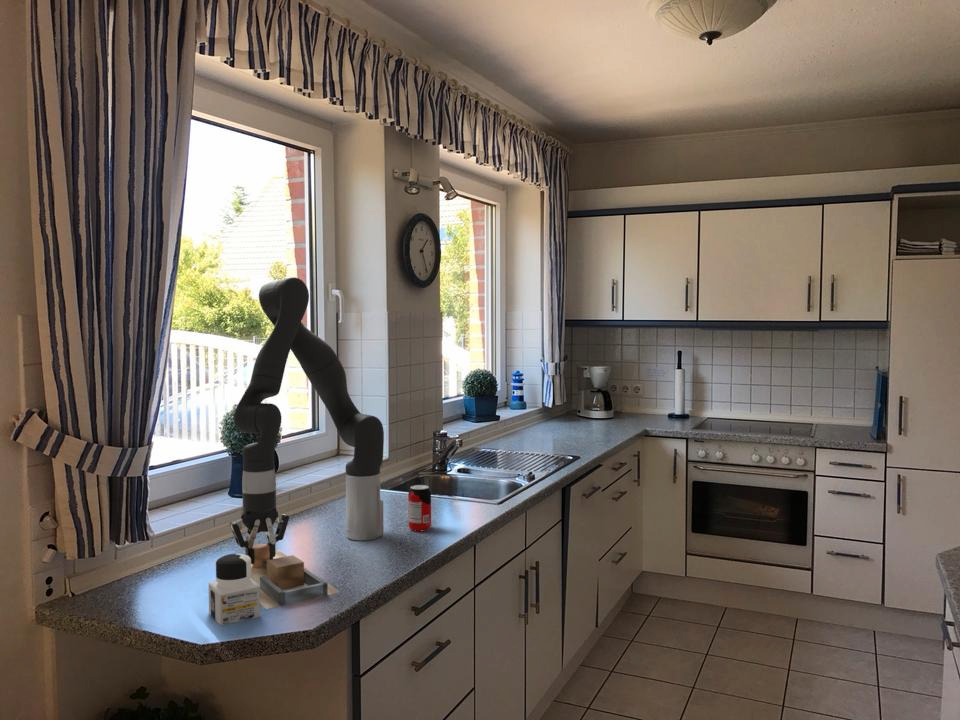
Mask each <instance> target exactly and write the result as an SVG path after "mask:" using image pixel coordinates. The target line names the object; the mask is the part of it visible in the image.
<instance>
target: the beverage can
mask: <svg viewBox="0 0 960 720" xmlns="http://www.w3.org/2000/svg"><path fill="white" fill-rule="evenodd" d="M429 488H430V486H428V485H426V484H425V485H424V484H415V485H412V486H410V489H409V492H408V494H407V495H408V496H407V497H408V504H407V505H408V510H407V511H408V527H409V529H410V530H411V531H413V530H416V531H415V532H422V531H421V530H426V531H428V530H429V529H430V528H431V526H432V492H431V490H430V489H429ZM427 529H428V530H427Z"/></svg>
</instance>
